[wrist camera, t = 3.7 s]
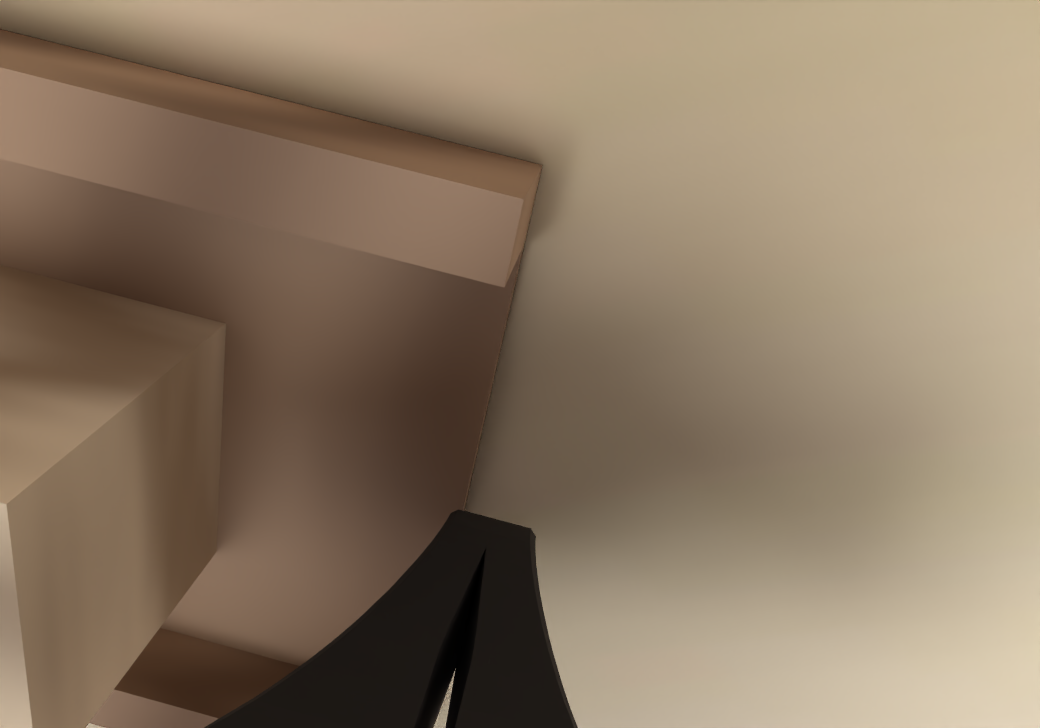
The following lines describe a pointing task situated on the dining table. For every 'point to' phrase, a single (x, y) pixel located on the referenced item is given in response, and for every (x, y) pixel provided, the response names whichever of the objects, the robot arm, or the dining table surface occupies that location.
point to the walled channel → (276, 332)
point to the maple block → (98, 486)
